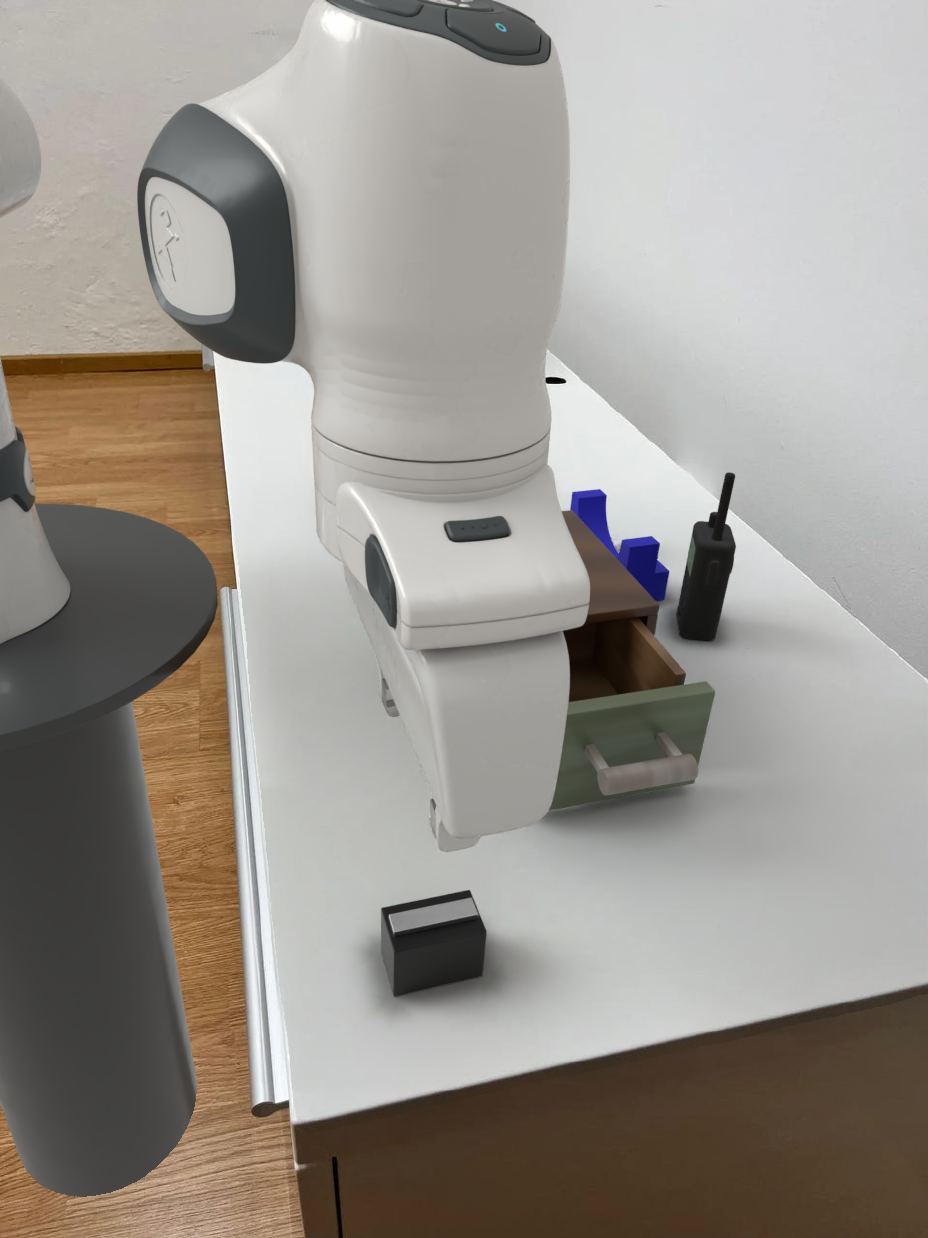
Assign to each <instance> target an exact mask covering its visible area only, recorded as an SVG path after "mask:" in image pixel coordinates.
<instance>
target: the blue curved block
mask: <svg viewBox="0 0 928 1238" xmlns="http://www.w3.org/2000/svg"><path fill="white" fill-rule="evenodd" d="M607 497H608V496H607V494H606V493H605V492H604V491H603V490H602V489H601V488H598V489H597V488H596V489H588V490H579V491H578V490H577V491H572V492H571V501H570V506H569V507H570V509H569V510H572V511H573V512H574V513H575V514H576V515H577V516H578V517H579V518H580V519H581V520H582V521H583V523H584V524H585V525H586V526H587V527H588V528H589V529H590V530H591V531H592V532H593V533H594V535H595V536H596V537H597V538H598V539H599V540H600V541H601V542H602V543H603V544H604V545H605V547H606V548H607V549H608V550H609V551H610V552H611V553H612V554H613V555H614V556H615V557H616V559H617V560H618V561H619V562H620V563H621V564H622V565H623V566H624V567H625V568H626V569H627V570H628V572H629V573H630V574H631V575H632V576H633V577H634V578H635V579H636V580H637V581H638V582H639V584H640V585H641V586H642V587H643V588H644V589H645V590H646V591H647V592H648V593H649V594H650V596H651V597H652V598H653V599H654V600H655V601H656V602H658V601H664V600H665V599H666V594H667V593H666V592H667V587H668V582H669V576H670V570H669V569H668V568H667V567H666V566H665V565H664V564H663V563H662V562H661V561H660V560H658V558H659V552H660V547H661V543H660V542H659V541H658V540H657V539H656V538H655V537H654V536H652V535H647V536H641V537H633V538H625V539H621V543H620V546H619V547H620V548H619V550H617V548H616V546H615V545H614V543H613V540H612V537H611V534H610V530H609V525H608V519H607Z"/></svg>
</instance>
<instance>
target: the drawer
mask: <svg viewBox="0 0 928 1238" xmlns="http://www.w3.org/2000/svg"><path fill="white" fill-rule="evenodd" d="M563 634H564V637H565V640H566V644H567V649H568V655H569V665H570V690H569V702H568V710H567V718H566V726H565V734H564V741H563V747H562V754H561V760H560V766H559V772H558V777H557V783H556V788H555V793H554V797H553V801H552V804H551V806H550V808H549V810H548V812H549V811H554V810H559V809H564V808H565V809H566V808H571V807H576V806H582V805H587V804H592V803H593V804H594V803H598V802H602V801H608V800H613V799H619V798H624V797H625V798H626V797H630V796H635V795H642V794H647V793H651V792H657V791H661V790H669V789H673V788H678V787H684V786H689V785H690V786H691V785H694V784H695V783H696V779H697V777H698V774H699V765H700V760H701V757H702V751H703V747H704V743H705V739H706V734H707V730H708V726H709V721H710V717H711V713H712V709H713V704H714V700H715V696H716V690H715V689H714V688H713V686H712V685H711V684H710V683H709V682H708V681H707V680H704V681H698V682H691V683H685V682H686V677H687V672H686V671H685V670H684V669H683V667H682V666H681V665H680V664H679V663H678V662H677V660H676V659H675V658H674V657H673V656H672V655H671V654H670V651H668V650H667V648H665V646H663V644H662V643H661V641H659V640H658V638H657V637H656V636H655V634H654V635H653V634H652V633H651V632H650V631H649V629H648V628H647V627H646V626H645V625H644V624H643V622H642V621H641V620H640V619H639V618H638V617H633V618H625V619H618V620H610V621H602V622H594V623H587V624H583V625H582V626H581V627H578V628H573V629H569V630H564V631H563Z"/></svg>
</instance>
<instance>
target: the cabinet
mask: <svg viewBox="0 0 928 1238" xmlns="http://www.w3.org/2000/svg"><path fill="white" fill-rule="evenodd" d="M561 511H562V514H563V517H564V520H565V522H566V525H567V527H568V530H569V532H570V535H571V537H572V539H573V542H574V544H575V546H576V548H577V550H578V552H579V554H580V557H581V559H582V561H583V563H584V565H585V568H586V570H587V573H588V576H589V581H590V601H589V608H588V614H587V618H586V621H585V623H584V624H587V623H594V622H602V621H610V620H618V619H625V618H633V617H638V618H639V619H640V620H641V621H642V622H643V624H644V625H645V626H646V627H647V628H648V629H649V631H650V632H651V633H652V634H653V635H654V636H655V634H656V629H657V628H656V627H657V623H658V617H659V610H660V603H658V601H655V600H654V599H653V598H652V597H651V596H650V594H649V593H648V592H647V591H646V590H645V589H644V588H643V587H642V586H641V585H640V584H639V582H638V581H637V580H636V579H635V578H634V577H633V576H632V575H631V574H630V573H629V572H628V570H627V569H626V568H625V567H624V566H623V565H622V564H621V563H620V562H619V561H618V560H617V559H616V557H615V556H614V555H613V554H612V553H611V552H610V551H609V550H608V549H607V548H606V547H605V545H604V544H603V543H602V542H601V541H600V540H599V539H598V538H597V537H596V536H595V535H594V533H593V532H592V531H591V530H590V529H589V528H588V527H587V526H586V525H585V524H584V523H583V521H582V520H581V519H580V518H579V517H578V516H577V515H576V514H575V513H574V512H573V511H572V510H570V509H569V510H561Z"/></svg>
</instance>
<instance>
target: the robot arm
mask: <svg viewBox="0 0 928 1238" xmlns="http://www.w3.org/2000/svg"><path fill="white" fill-rule="evenodd" d="M569 118H570V117H569V107H568V98H567V93H566V84H565V79H564V74H563V69H562V65H561V61H560V57H559V53H558V51H557V47H556V45H555V43H554V41H553V39H552V38H551V36H550V35H549V34H548V33H547V32H546V31H545V30H544V29H542V28H541V27H540V26H539V24H537V22H536V21H535V19H533V18H532V17H530V16H528V15H527V14H525V13H524V12H522V11H520V10H518V9H516V8H515V7H513V6H510V5H507V4H505V3H502V2H500V1H497V0H313V2H312V3H311V5H310V6H309V8H308V10H307V12H306V14H305V17H304V19H303V22H302V25H301V28H300V32H299V35H298V39H296V43H295V44H294V46H293V47H292V49H291V50H290V51H289V52H288V53H287V54H285V55H284V56H283V57H282V58H281V59H280V60H279V61H277V62H276V63H275V64H274V65H273V66H271V67H270V68H268V69H267V70H266V71H264V72H263V73H261V74H259V75H258V76H256V77H255V78H253V79H251V80H249V81H248V82H245V83H244V84H242V85H239V86H237V87H235V88H233V89H231V90H229V91H227V92H224V93H222V94H220V95H217V96H215V97H213V98H210V99H207V100H204V101H201V102H197V103H187V104H184V105H183V106H181V107H180V108H179V110H177V111H176V112H175V113H174V114H173V115H172V116H171V117H170V119H169V120H168V121H167V122H166V123H165V125H164V126H163V127H162V129H161V130H160V131H159V133H158V135H157V136H156V137H155V139H154V141H153V142H152V145H151V148H150V149H149V151H148V154H147V155H146V158H145V161H144V163H143V165H142V168H141V170H140V173H139V176H138V180H137V191H136V192H137V193H136V201H137V202H136V203H137V216H138V226H139V227H138V228H139V234H140V241H141V247H142V254H143V258H144V264H145V268H146V271H147V274H148V279H149V283H150V285H151V289H152V292H153V294H154V296H155V299H156V301H157V302H158V305H159V306H160V308H161V310H162V311H163V312H165V314H167V315H168V317H170V318H171V319H172V320H173V321H174V322H175V323H176V324H177V325H178V326H179V327H180V328H181V329H183V330H184V331H185V332H186V333H187V334H188V335H189V336H191V337H192V338H193V339H195V340H196V341H197V342H199V343H200V344H202V346H204V347H206V348H207V349H209V350H211V351H212V352H213V353H216V354H218V355H219V356H222V357H224V358H226V359H229V360H233V361H238V362H244V363H252V364H262V365H263V364H265V365H266V364H275V363H279V362H283V363H289V364H295V365H298V366H299V367H301V368H302V369H304V370H305V372H307V374H308V375H309V377H310V379H311V381H312V384H313V400H312V409H311V414H310V419H311V420H310V424H311V425H310V426H311V427H310V428H311V444H312V445H311V447H312V448H311V449H312V465H313V467H312V468H313V480H314V481H313V482H314V503H315V506H314V507H315V523H316V524H315V527H316V535H317V537H318V540H319V542H320V544H321V545H322V546H323V548H324V550H326V551H327V553H328V554H330V555H331V556H332V557H334V558H335V559H336V560H338V561H339V562H341V563H342V564H343V565H342V566H343V573H344V578H345V583H346V586H347V589H348V591H349V594H350V596H351V598H352V601H353V604H354V606H355V609H356V611H357V614H358V616H359V618H360V621H361V623H362V626H363V628H364V631H365V633H366V635H367V638H368V641H369V643H370V646H371V649H372V650H373V653H374V656H375V660H376V666H377V671H378V684H379V685H378V686H379V687H378V689H379V691H378V693H379V697H380V700H381V703H382V705H383V708H384V710H385V713H386V714H387V715H388V716H389V717H393V718H398V717H400V719H401V722H402V725H403V727H404V729H405V732H406V734H407V737H408V739H409V742H410V745H411V747H412V750H413V751H414V754H415V757H416V759H417V762H418V764H419V766H420V769H421V771H422V773H423V776H424V779H425V781H426V784H427V786H428V789H429V792H430V794H431V796H432V798H430V799H429V815H430V817H429V825H430V828H431V831H432V834H433V837H434V840H435V842H436V845H437V847H438V849H439V851H440V852H444V853H451V852H456V851H461V850H466V849H470V848H473V847H475V846H476V845H477V844H478V843H479V841H480V838H481V837H485V836H487V837H488V836H492V835H500V834H504V833H507V832H508V833H509V832H512V831H516V830H519V829H524V828H527V827H530V826H532V825H534V824H536V823H538V822H539V821H541V819H543V818H544V817H545V816H546V815H547V814H548V812H549V811H548V810H549V808H550V806H551V804H552V801H553V797H554V793H555V788H556V783H557V777H558V772H559V766H560V760H561V754H562V747H563V741H564V734H565V726H566V718H567V710H568V702H569V690H570V665H569V655H568V649H567V644H566V640H565V637H564V634H563V631H564V630H569V629H573V628H578V627H581V626H582V625H583V624H584V623H585V621H586V618H587V614H588V608H589V601H590V581H589V576H588V573H587V570H586V568H585V565H584V563H583V561H582V559H581V557H580V554H579V552H578V550H577V548H576V546H575V544H574V542H573V539H572V537H571V535H570V532H569V530H568V527H567V525H566V522H565V520H564V517H563V514H562V511H563V510H562V508H561V505H560V501H559V497H558V491H557V487H556V478H555V474H554V471H553V468H552V466H550V465H549V464H548V463H549V453H550V452H549V451H550V442H551V429H552V408H551V407H552V406H551V401H550V400H551V399H550V396H549V395H550V394H549V391H548V387H547V381H546V380H547V379H546V361H547V360H546V359H547V352H548V351H547V350H548V347H549V342H550V338H551V336H552V332H553V330H554V327H555V325H556V322H557V321H558V320H557V319H558V317H559V314H560V311H561V307H562V302H563V295H564V286H565V285H564V283H565V274H566V273H565V272H566V261H567V248H568V235H569V217H570V198H571V197H570V190H571V189H570V188H571V143H570V142H571V140H570V139H571V138H570V135H571V134H570V119H569ZM41 174H42V153H41V146H40V140H39V136H38V133H37V130H36V127H35V125H34V122H33V120H32V117H31V115H30V113H29V112H28V110H27V108H26V106H25V105H24V103H23V102H22V100H21V99H20V98H19V97H18V95H17V94H16V93H15V91H14V90H13V89H12V88H11V87H10V86H9V85H7V84H6V82H4V81H3V80H2V78H0V219H2V218H4V217H5V216H7V215H10V214H11V213H12V212H15V211H17V210H18V209H20V208H21V207H23V206H24V205H26V204H27V203H28V202H29V201H30V200H31V199H32V197H33V196H34V195H35V193H36V191H37V189H38V185H39V182H40V179H41ZM3 368H4V367H3V362H2V358H1V357H0V644H1V643H3V642H5V641H7V640H9V639H12V638H14V637H16V636H19V635H21V634H23V633H26V632H28V631H30V630H32V629H34V628H36V627H38V626H40V625H41V624H43V623H45V622H46V621H48V620H49V619H50V618H52V617H53V616H54V615H55V614H57V613H58V612H59V611H60V610H61V609H62V608H63V606H64V605H65V604H66V602H67V600H68V598H69V595H70V583H69V581H68V579H67V578H66V576H65V574H64V573H63V571H62V569H61V568H60V566H59V564H58V562H57V560H56V558H55V556H54V554H53V552H52V550H51V547H50V545H49V543H48V540H47V538H46V535H45V533H44V530H43V527H42V525H41V522H40V519H39V516H38V513H37V510H36V507H35V504H36V503H35V502H36V496H37V489H36V483H35V478H34V471H33V467H32V462H31V459H30V453H29V449H28V448H27V447H26V442H25V438H24V435H23V432H22V430H21V429H20V428H19V427H17V426H16V424H15V420H14V415H13V411H12V405H11V401H10V397H9V392H8V387H7V381H6V377H5V372H4V369H3Z"/></svg>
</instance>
